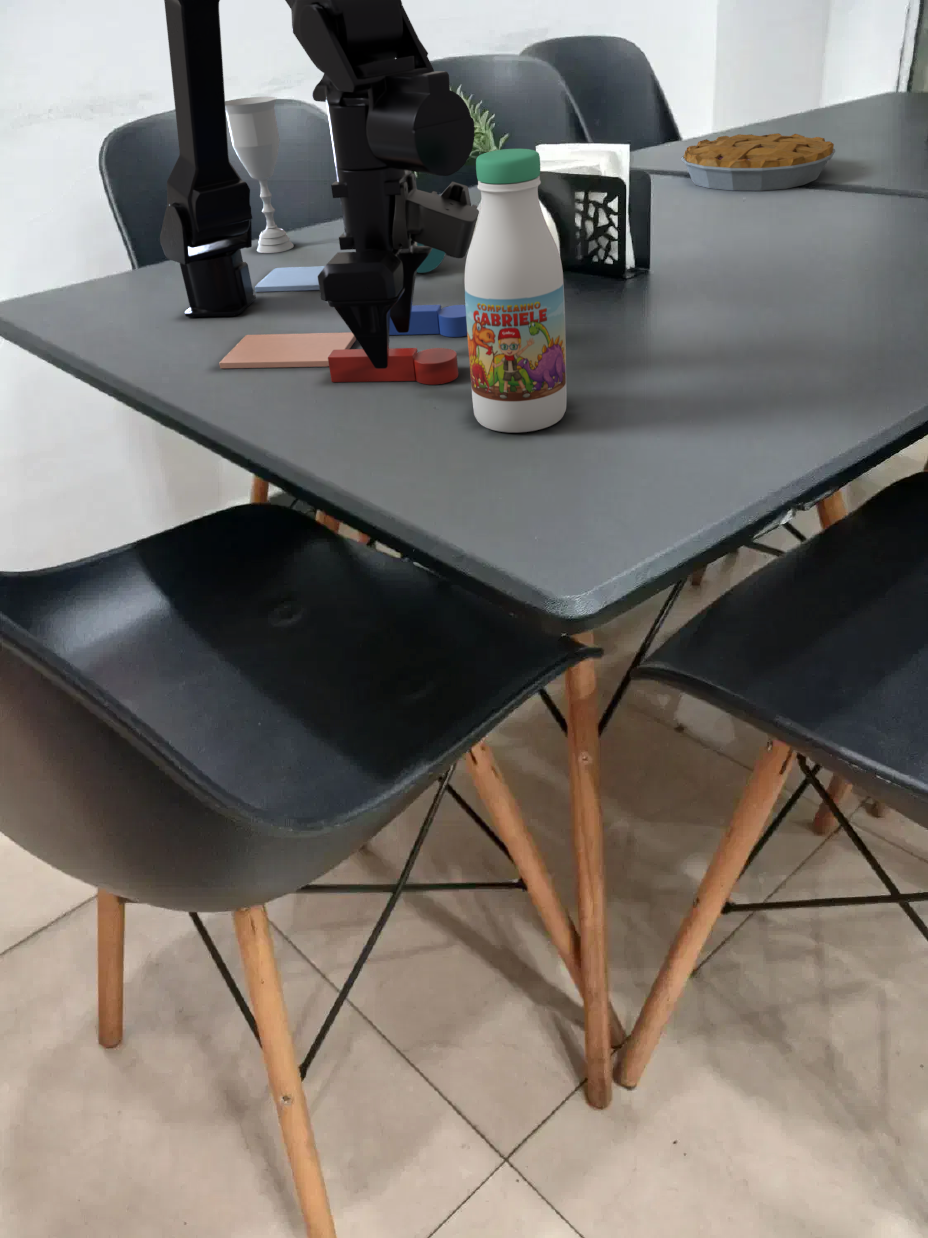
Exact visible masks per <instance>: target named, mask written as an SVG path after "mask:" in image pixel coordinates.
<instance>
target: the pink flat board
mask: <svg viewBox="0 0 928 1238" xmlns="http://www.w3.org/2000/svg"><path fill="white" fill-rule="evenodd" d="M356 341H357V339H356V338H355V336H354V335H353V333H352V332H351V331H350V332H349V331H348V332H347V331H346V332H312V333H311V332H310V333H309V332H307V333H306V332H305V333H272V334H271V333H269V334H267V333H266V334H246V335H244V336H243V338H242V339H240V341H239V342H237V344H236V345H234V347H233V348H232V349H231V350H230V351H229V352H228V353H227V354H226V355H225V356H224V357H223V358H222V359H221V360H220V361H219V362H218V364H219V369H266V368H268V369H269V368H317V367H319V368H321V367H322V368H323V367H325V368H326V367H327V368H329V362H328V356H329V355H330V354H331V352H332V351H333V350H344V349H352V346H353V345H354V343H355V342H356Z"/></svg>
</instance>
